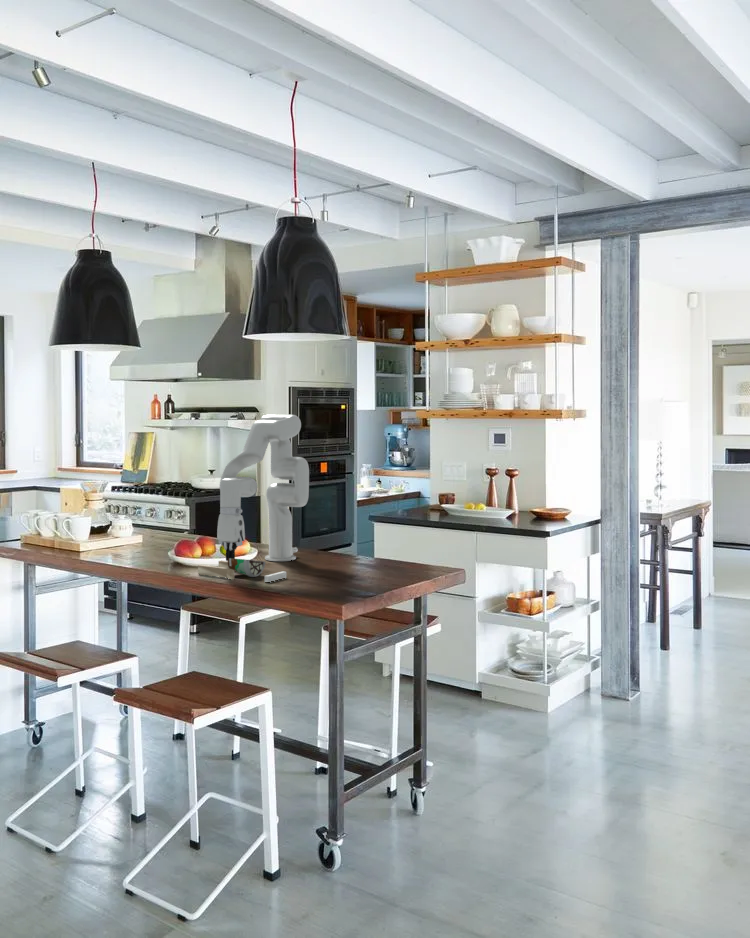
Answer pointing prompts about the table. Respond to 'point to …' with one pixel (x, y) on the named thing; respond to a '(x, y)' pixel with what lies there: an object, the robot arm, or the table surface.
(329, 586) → the table surface
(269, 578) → the white notched bar
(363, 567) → the table surface
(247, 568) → the food container
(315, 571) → the table surface
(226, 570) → the chute
